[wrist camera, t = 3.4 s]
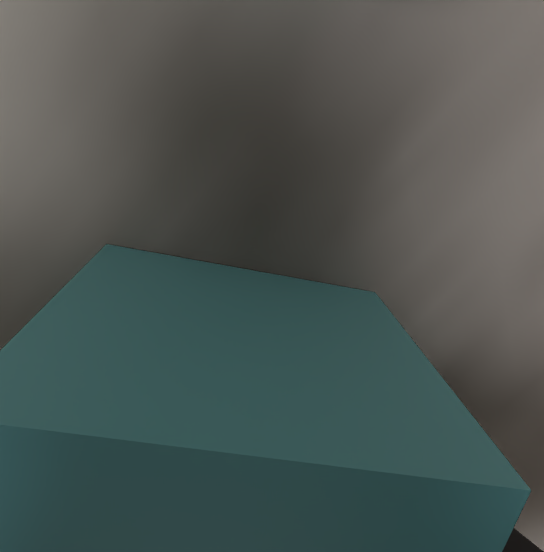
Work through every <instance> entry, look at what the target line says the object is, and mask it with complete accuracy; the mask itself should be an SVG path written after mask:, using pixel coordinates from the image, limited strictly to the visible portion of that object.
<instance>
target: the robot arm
mask: <svg viewBox="0 0 544 552" xmlns="http://www.w3.org/2000/svg"><path fill="white" fill-rule="evenodd" d="M502 552H543V551H542V550H541V549H539V548H538V547H537V546H536V545H534V544H533V543H532V542H531V541H529V540H528V539H527V538H526V537H524V536H523V535H522V534H521V533H519V532H518V531H517V530H516V529H514V528H513V530H512V532H511V534H510V536H509V539H508V541H507V543H506V545H505V547H504V549H503V551H502Z"/></svg>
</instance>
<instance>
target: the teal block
mask: <svg viewBox="0 0 544 552" xmlns="http://www.w3.org/2000/svg"><path fill="white" fill-rule="evenodd" d="M530 492H531V489H530V488H529V487H528V486H527V484H526V483H525V482H524V480H523V479H522V478H521V477H520V475H519V474H518V473H517V472H516V470H515V469H514V468H513V467H512V465H511V464H510V463H509V461H508V460H507V459H506V458H505V456H504V455H503V454H502V453H501V451H500V450H499V449H498V448H497V446H496V445H495V444H494V442H493V441H492V440H491V439H490V437H489V436H488V435H487V434H486V432H485V431H484V430H483V429H482V427H481V426H480V425H479V423H478V422H477V421H476V420H475V418H474V417H473V416H472V415H471V413H470V412H469V411H468V410H467V408H466V407H465V406H464V404H463V403H462V402H461V401H460V399H459V398H458V397H457V396H456V394H455V393H454V392H453V391H452V389H451V388H450V387H449V385H448V384H447V383H446V382H445V380H444V379H443V378H442V377H441V375H440V374H439V373H438V372H437V370H436V369H435V368H434V366H433V365H432V364H431V363H430V361H429V360H428V359H427V358H426V356H425V355H424V354H423V353H422V351H421V350H420V349H419V347H418V346H417V345H416V344H415V342H414V341H413V340H412V339H411V337H410V336H409V335H408V334H407V332H406V331H405V330H404V328H403V327H402V326H401V325H400V323H399V322H398V321H397V320H396V318H395V317H394V316H393V314H392V313H391V312H390V311H389V309H388V308H387V307H386V306H385V304H384V303H383V302H382V301H381V299H380V298H379V297H378V295H377V294H376V293H375V292H371V291H366V290H360V289H354V288H349V287H343V286H338V285H332V284H326V283H321V282H315V281H310V280H304V279H299V278H293V277H287V276H282V275H276V274H271V273H265V272H260V271H254V270H248V269H243V268H237V267H232V266H226V265H221V264H215V263H209V262H204V261H198V260H193V259H187V258H181V257H176V256H170V255H165V254H159V253H154V252H148V251H142V250H137V249H131V248H126V247H120V246H115V245H109V244H106V245H105V246H104V247H103V248H102V249H101V250H100V251H99V252H98V253H97V254H96V255H95V256H94V257H93V258H92V259H91V260H90V261H89V262H88V263H87V264H86V265H85V266H84V267H83V268H82V269H81V270H80V271H79V272H78V273H77V274H76V275H75V276H74V277H73V278H72V279H71V280H70V281H69V282H68V283H67V284H66V285H65V286H64V287H63V288H62V289H61V290H60V291H59V292H58V293H57V294H56V295H55V296H54V297H53V298H52V299H51V300H50V301H49V302H48V303H47V304H46V305H45V306H44V307H43V308H42V309H41V310H40V311H39V312H38V313H37V314H36V315H35V316H34V317H33V318H32V319H31V320H30V321H29V322H28V323H27V324H26V325H25V326H24V327H23V328H22V329H21V330H20V331H19V332H18V333H17V334H16V335H15V336H14V337H13V338H12V339H11V340H10V341H9V342H8V343H7V344H6V345H5V346H4V347H3V348H2V349H1V350H0V552H502V551H503V549H504V547H505V545H506V543H507V541H508V539H509V536H510V534H511V532H512V530H513V528H514V526H515V524H516V522H517V520H518V518H519V515H520V513H521V511H522V509H523V507H524V505H525V503H526V501H527V499H528V497H529V494H530Z"/></svg>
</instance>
